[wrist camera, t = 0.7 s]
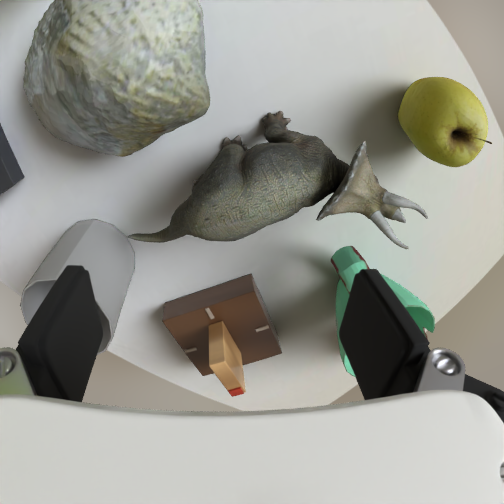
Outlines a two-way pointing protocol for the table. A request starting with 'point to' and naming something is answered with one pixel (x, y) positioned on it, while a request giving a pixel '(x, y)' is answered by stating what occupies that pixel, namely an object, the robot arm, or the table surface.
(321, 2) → the table surface
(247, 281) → the walnut panel
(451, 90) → the apple
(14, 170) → the button box
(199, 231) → the toy dinosaur
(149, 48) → the decorative stone
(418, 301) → the mug
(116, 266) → the cup
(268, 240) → the table surface
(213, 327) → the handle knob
